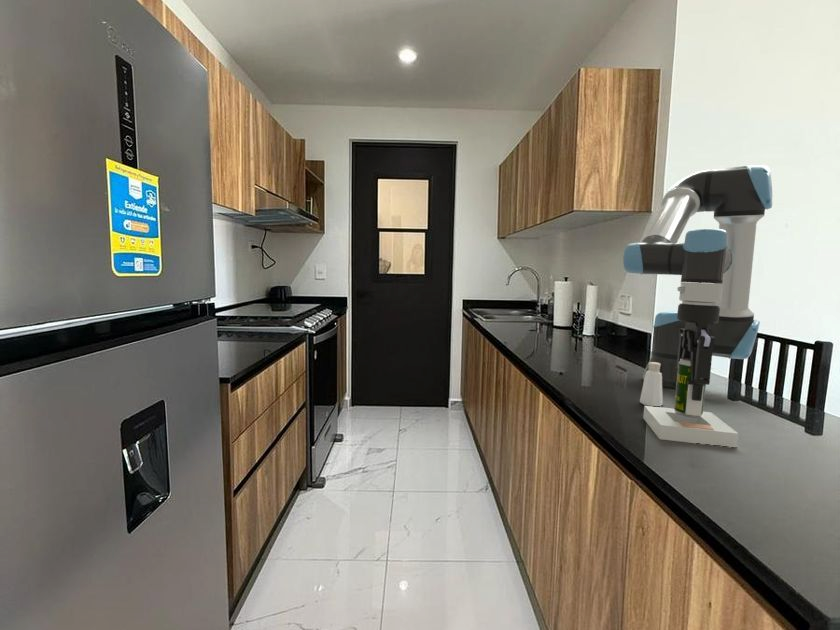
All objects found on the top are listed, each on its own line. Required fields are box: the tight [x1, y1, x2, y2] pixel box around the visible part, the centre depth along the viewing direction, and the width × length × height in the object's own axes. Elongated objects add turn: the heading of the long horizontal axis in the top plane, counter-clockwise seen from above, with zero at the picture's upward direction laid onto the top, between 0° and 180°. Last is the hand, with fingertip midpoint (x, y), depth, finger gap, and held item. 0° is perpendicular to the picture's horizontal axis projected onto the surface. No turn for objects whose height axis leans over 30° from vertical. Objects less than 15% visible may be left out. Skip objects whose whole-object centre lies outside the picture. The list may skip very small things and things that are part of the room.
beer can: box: [673, 358, 707, 418], centre depth 96 cm, size 5×5×12 cm
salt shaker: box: [639, 361, 664, 407], centre depth 117 cm, size 5×5×11 cm
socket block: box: [642, 405, 739, 448], centre depth 97 cm, size 14×14×3 cm
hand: (688, 410), depth 96 cm, fingers closed on beer can, 5 cm apart
